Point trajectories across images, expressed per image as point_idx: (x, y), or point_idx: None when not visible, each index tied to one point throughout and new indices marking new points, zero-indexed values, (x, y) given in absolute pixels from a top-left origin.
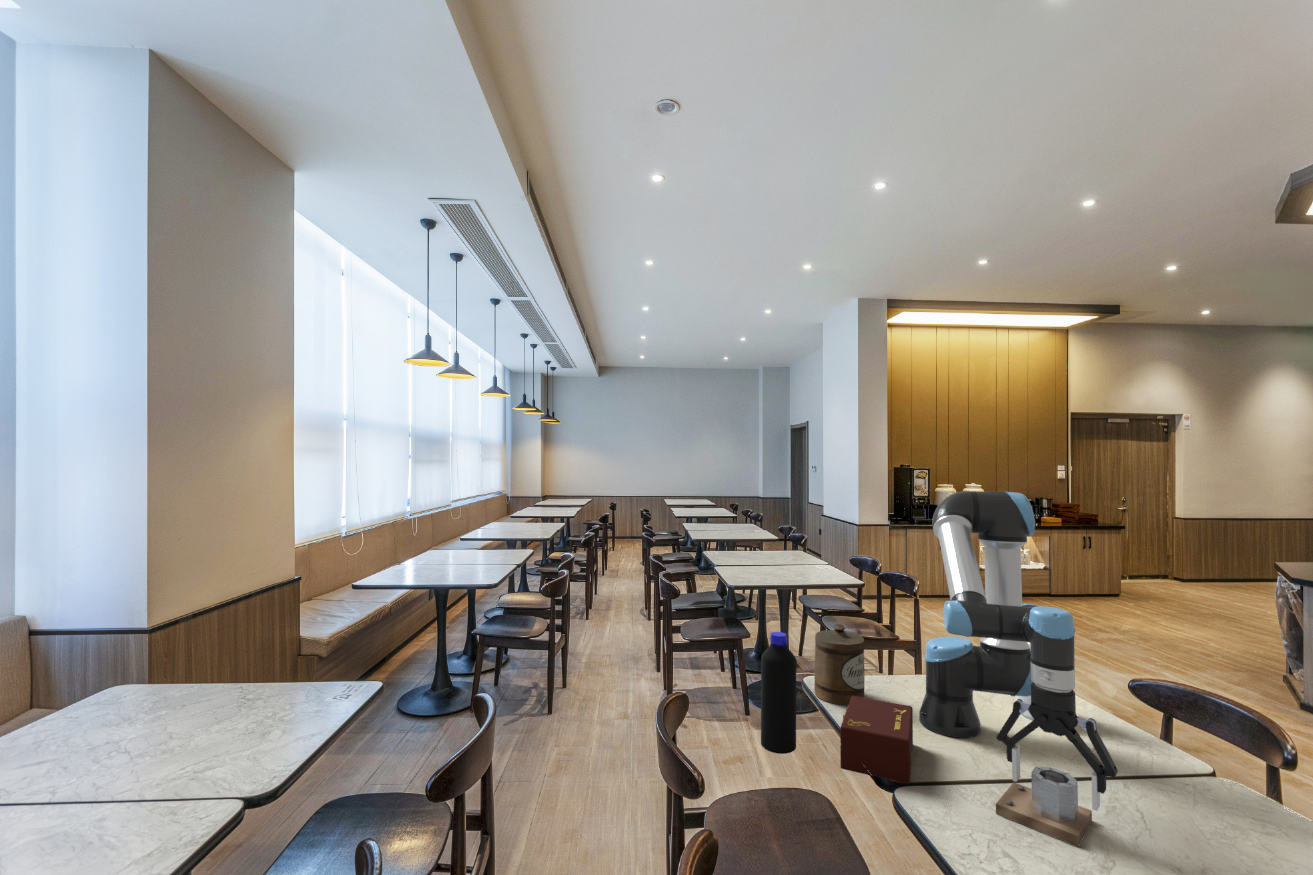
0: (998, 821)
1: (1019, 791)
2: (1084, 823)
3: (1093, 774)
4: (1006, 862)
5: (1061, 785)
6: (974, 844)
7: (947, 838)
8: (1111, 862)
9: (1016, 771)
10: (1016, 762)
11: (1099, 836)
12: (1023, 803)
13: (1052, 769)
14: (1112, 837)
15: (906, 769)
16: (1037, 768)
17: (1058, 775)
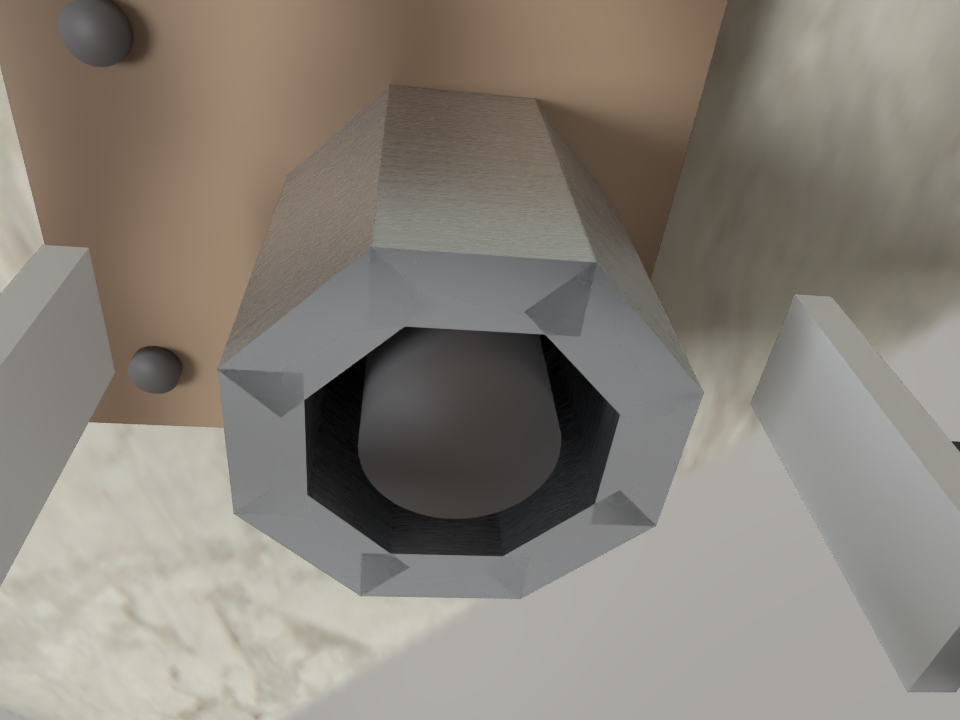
0: (169, 442)
1: (109, 87)
2: (651, 267)
3: (934, 671)
4: (332, 672)
5: (545, 573)
6: (185, 656)
7: (84, 684)
8: (743, 420)
9: (75, 440)
10: (28, 512)
11: (723, 191)
12: (225, 284)
13: (412, 291)
14: (810, 139)
15: None
16: (253, 395)
17: (499, 401)
